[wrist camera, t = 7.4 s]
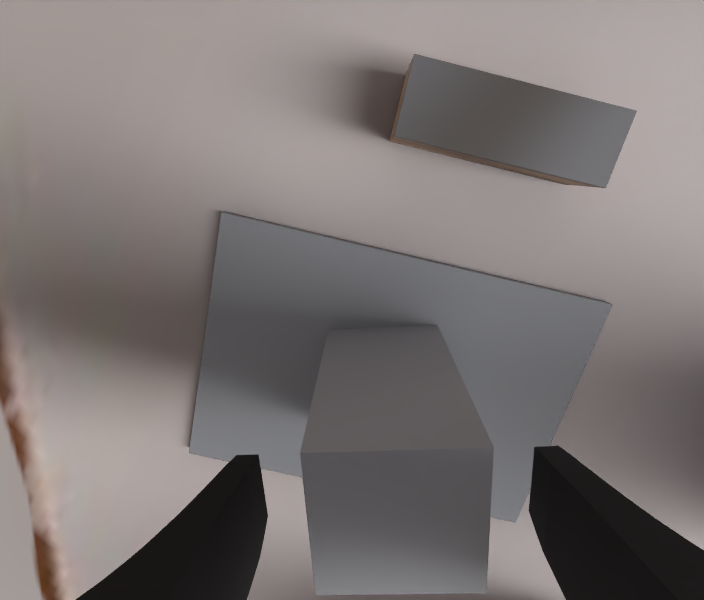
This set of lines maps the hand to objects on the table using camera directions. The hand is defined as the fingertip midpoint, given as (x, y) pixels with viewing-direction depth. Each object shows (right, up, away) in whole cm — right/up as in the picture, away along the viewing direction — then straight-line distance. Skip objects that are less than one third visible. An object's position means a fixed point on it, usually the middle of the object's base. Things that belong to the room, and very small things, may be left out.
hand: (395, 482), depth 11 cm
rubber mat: (0, +2, +5) cm, 6 cm away
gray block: (0, +2, +5) cm, 5 cm away
